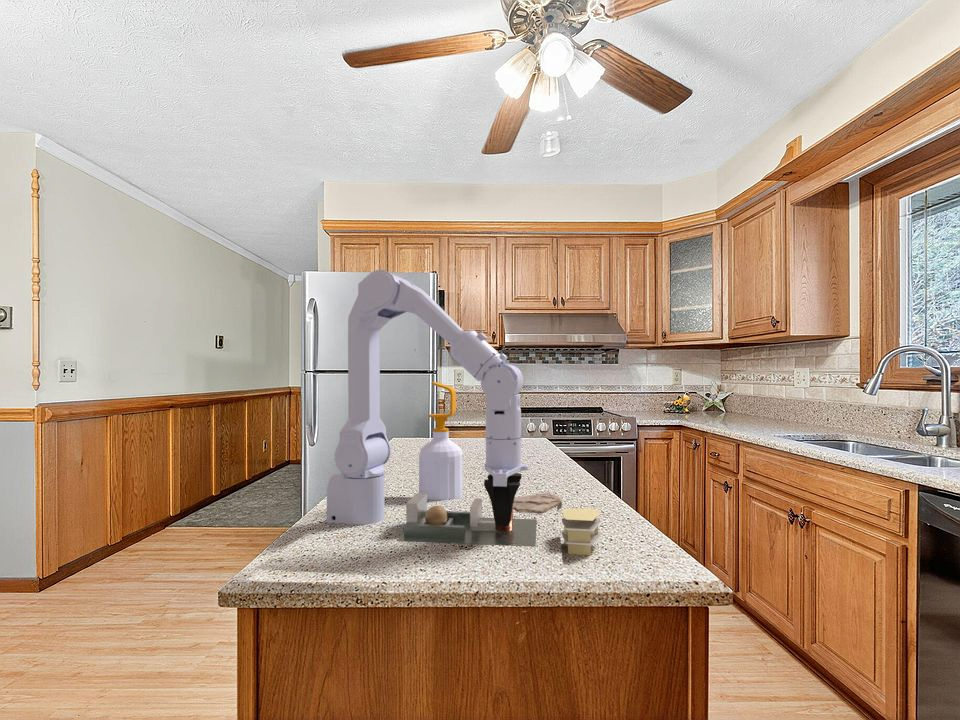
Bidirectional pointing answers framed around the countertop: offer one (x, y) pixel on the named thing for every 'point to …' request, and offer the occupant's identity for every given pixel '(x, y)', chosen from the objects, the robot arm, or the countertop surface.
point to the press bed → (462, 528)
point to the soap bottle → (441, 459)
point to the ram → (477, 524)
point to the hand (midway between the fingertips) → (503, 521)
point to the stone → (536, 503)
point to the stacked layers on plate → (580, 530)
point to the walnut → (436, 516)
